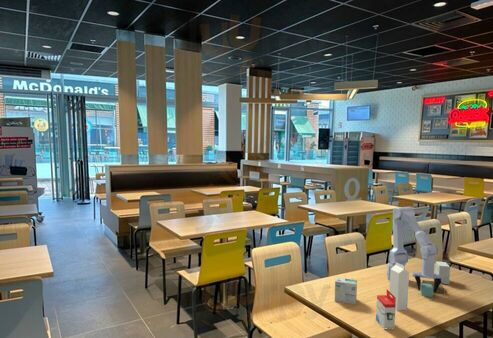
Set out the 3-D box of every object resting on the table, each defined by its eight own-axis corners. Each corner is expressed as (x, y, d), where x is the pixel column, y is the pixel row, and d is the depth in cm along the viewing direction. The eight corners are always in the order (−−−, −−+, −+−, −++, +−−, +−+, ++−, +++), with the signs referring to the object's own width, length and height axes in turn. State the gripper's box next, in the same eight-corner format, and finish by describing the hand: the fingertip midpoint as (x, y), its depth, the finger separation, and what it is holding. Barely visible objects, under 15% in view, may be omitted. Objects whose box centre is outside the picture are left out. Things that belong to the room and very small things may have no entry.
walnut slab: (425, 291, 185) (426, 286, 185) (422, 285, 194) (422, 280, 193) (444, 293, 182) (444, 288, 182) (439, 287, 191) (439, 281, 191)
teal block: (422, 295, 179) (423, 286, 179) (420, 291, 184) (420, 283, 183) (432, 297, 178) (433, 288, 177) (430, 293, 182) (431, 284, 182)
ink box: (375, 319, 155) (376, 288, 153) (385, 319, 155) (387, 288, 154) (383, 330, 146) (385, 297, 145) (395, 329, 146) (396, 297, 145)
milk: (397, 311, 163) (399, 266, 161) (388, 305, 169) (390, 262, 167) (407, 309, 164) (409, 265, 163) (398, 303, 170) (400, 261, 168)
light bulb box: (356, 299, 175) (357, 278, 174) (356, 304, 169) (356, 284, 168) (335, 295, 178) (335, 276, 177) (334, 301, 172) (334, 281, 171)
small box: (449, 284, 194) (450, 266, 193) (438, 283, 195) (439, 265, 194) (445, 279, 201) (446, 262, 201) (434, 278, 203) (435, 261, 202)
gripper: (414, 267, 178) (413, 292, 179) (445, 270, 174) (444, 296, 175) (412, 263, 184) (411, 286, 186) (441, 265, 180) (440, 290, 181)
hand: (426, 291), depth 181 cm, fingers open, 7 cm apart
